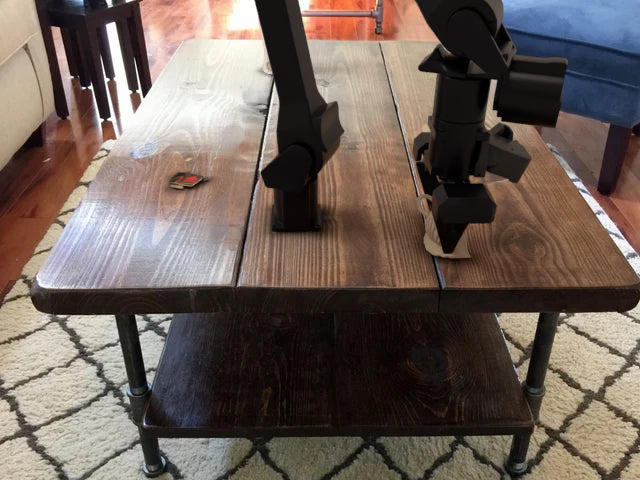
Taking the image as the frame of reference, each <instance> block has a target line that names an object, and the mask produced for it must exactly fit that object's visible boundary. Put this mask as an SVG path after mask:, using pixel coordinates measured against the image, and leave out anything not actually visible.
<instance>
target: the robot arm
mask: <svg viewBox="0 0 640 480" xmlns="http://www.w3.org/2000/svg"><path fill="white" fill-rule="evenodd" d="M253 1H254V4H255V8H256V12H257V18H258V17H259V21H260V25H261V29H262V33H263V37H264V42H265V46H266V50H267V54H268V58H269V62H270V66H271V70H272V74H273V75H272V78H273V82H274V86H275V89H276V94H277V99H278V112H277V120H276V121H277V122H276V129H275V134H276V135H275V136H276V145H277V154H276V155H275V156H274V157H273V158H272V160H271V161H270V162H268V163H267V165H266V166H265V167H263V169H261V170H260V172H259V173H260V176H261V179H262V181H263V184H264V186H265V188H267V189H272V190H273V204H272V206H271V219H270V230H271V231H273V232H296V231H297V232H299V231H300V232H302V231H303V232H305V231H310V232H311V231H312V232H313V231H321V230H322V229H323V224H322V208H321V204H320V203H319V175H318V174H320V172H321V171H322V170H323V168H325V166H326V165H327V163H329V161H330V160H331V159H332V157H333V156H334V155H335V154H336V153H337V151H338V150H339V148H340V146H341V141H342V140H341V138H342V136H343V135H344V133H345V129H344V127H343V125H342V123H341V121H340V120H341V119H340V108H339V103H338V101H337V100H334V101H331V102H328V103H327V101H326V100H325V98H324V97H323V96H322V94H321V93H320V91H319V89H318V86H317V85H318V84H317V81H316V77H315V72H314V67H313V63H312V58H311V52H310V49H309V48H310V47H309V43H308V39H307V35H306V28H305V24H304V21H303V16H302V11H301V6H300V0H253ZM414 3H416V6H417V7H418V9H419V11H420V13H421V15H422V18H423V19H424V21H425V23H426V25H427V26H428V28H429V29H430V30H431V31H432V33H433V35H434V36H435V37H436V38H437V40H438V41H439V42H440V43H437V44H436V46H435V47H434V48H433V50H432V51H431V52H430V53H429V54H427V55H425V56H424V58H423V59H422V60H421V61H420V63H419V64H418V66H417V69H418V71H419V72H421V73H430V74H436V79H435V87H434V95H433V104H432V105H433V106H432V114H431V115H427V122H428V127H429V129H430V131H431V132H421V131H420V133H419V134H417V136H415V137H414V138H413V142H412V156H413V158H414V161H415V167H416V171H417V174H418V177H419V180H420V184H421V187H422V190H423V194H428V195H430V196H432V202H431V201H430V200H429V199H427V198H425V201H426V204H427V208H428V211H429V212H430V211H431V212H432V216H433V219H434V222H435V226H436V229H437V233H438V237H439V240H440V244H441V247H442V250H443V253H444V254H452V253H453V252H454V250H455V248H456V246H457V244H458V242H459V240H460V238H461V237H462V235H463V233H464V234H465V231H466V230H467V228H468V226H469V224H471V225H472V224H473V225H474V224H475V225H476V224H477V225H479V224H480V225H481V224H483V225H484V224H489V225H490V224H492V223H493V222H494V221H495V219H496V213H497V209H498V205H497V203H496V201H495V199H494V197H493V195H492V193H491V191H490V190H489V188H488V187H487V186H486V185H485V184H484V183H483V182H475V183H474V182H471V179H470V177H473V178H486V173H490V174H492V175H495V176H498V177H501V178H504V179H506V180H508V181H509V182H510V183H513V184H519V182H520V180H521V178H522V177H523V175H524V173H525V172H526V170H527V168H528V167H529V165H530V163H531V161H532V160H533V157H532V156H531V155H530V153H529V152H528V150H527V149H526V147H525V146H524V145H523V144H521V143H520V142H519V141H518V140H517V139H514V131H513V129H512V127H511V126H510V125H508V124H506V123H510V124H516V125H524V126H533V127H541V128H547V129H554V130H555V129H556V128H557V124H558V120H559V115H560V111H561V106H562V103H563V96H564V89H565V88H564V87H565V85H564V83H565V77H566V73H567V68H568V63H569V60H568V58H567V57H559V56H558V57H557V56H552V57H538V56H530V55H529V56H528V55H518V54H516V53H517V47H516V45H515V43H514V41H513V39H512V37H511V36H510V34H509V32H508V30H507V27H506V26H505V24H504V22H503V20H504V11H505V10H504V9H505V8H504V3H503V0H414ZM259 21H258V22H259ZM492 81H496V83H495V88H494V89H495V90H494V96H493V100H492V111H495V112H496V118H500V121H499V122H497V123H496V124H495V125H494V126H493V127H491V128H490V130H487V129H486V127H485V125H486V124H485V122H486V115H487V110H488V102H489V98H490V90H491V84H492ZM422 155H423V159H422Z"/></svg>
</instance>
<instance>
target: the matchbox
mask: <svg viewBox="0 0 640 480" xmlns="http://www.w3.org/2000/svg"><path fill="white" fill-rule="evenodd" d="M202 179H203V181H204V182H205V181H207V180H208V179H209V176H208V177H206V175H205V174H200V173H193V172H190V171H188V172H186V171H185V172H183V171H182V172H181V171H178V172H176V173H175V174H174V175H172V176H171V177H170V179H169V180H168V183H171V184H169V187H171V188H172V189H180V190H182V189H184V187H194V186H195V184H198V183H199V182H200V181H202Z"/></svg>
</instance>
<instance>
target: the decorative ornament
mask: <svg viewBox="0 0 640 480" xmlns="http://www.w3.org/2000/svg"><path fill="white" fill-rule="evenodd" d="M426 198H427V199H429V200H430V201H431V202H432V196H430V195H428V194H424V193H423V194H420V195H418V197H417V199H416V207H417V209H418V211H419V212H420V214H421V215H422V216H424V218H425V221H424V231H425V233H424V236H423V237H422V238H423V244H424V247H425V250H426V251H427V252H428V253H430V254H431V255H432V256H434V257H441V258H443V259H445V258H448V259H467V258H468V259H470V258H472V257H471V255H470V253H469V250H468V241H467V237H466V233H465V232H464V233H463V235H462V237H461V238H460V240H459V242H458V244H457V246H456V248H455V250H454V252H453V253H452V254H444V253H443V250H442V247H441V244H440V240H439V237H438V233H437V229H436V226H435V222H434V219H433V216H432V212H431V211H429V212H428V211H426V210H425V209H424V208H423V206H422V203H421V202H422V200H423V199H426Z"/></svg>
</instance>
